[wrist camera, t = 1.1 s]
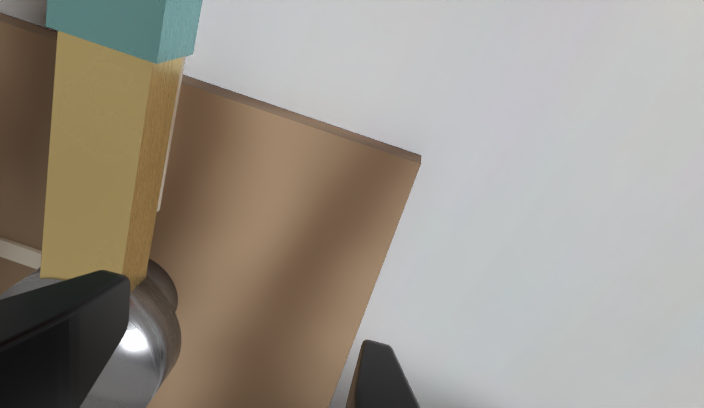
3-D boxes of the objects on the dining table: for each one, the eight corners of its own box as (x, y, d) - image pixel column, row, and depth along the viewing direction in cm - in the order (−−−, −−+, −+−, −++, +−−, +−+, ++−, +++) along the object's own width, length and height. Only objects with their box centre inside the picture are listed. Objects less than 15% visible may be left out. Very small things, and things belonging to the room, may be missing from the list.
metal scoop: (168, 408, 21) (140, 453, 19) (25, 357, 21) (-19, 396, 19) (259, -15, 15) (231, -16, 13) (53, -85, 15) (-8, -96, 13)
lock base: (435, 118, 18) (435, 162, 14) (295, 489, 26) (265, 596, 21) (-92, -60, 19) (-264, -76, 14) (-77, 358, 26) (-185, 436, 22)
